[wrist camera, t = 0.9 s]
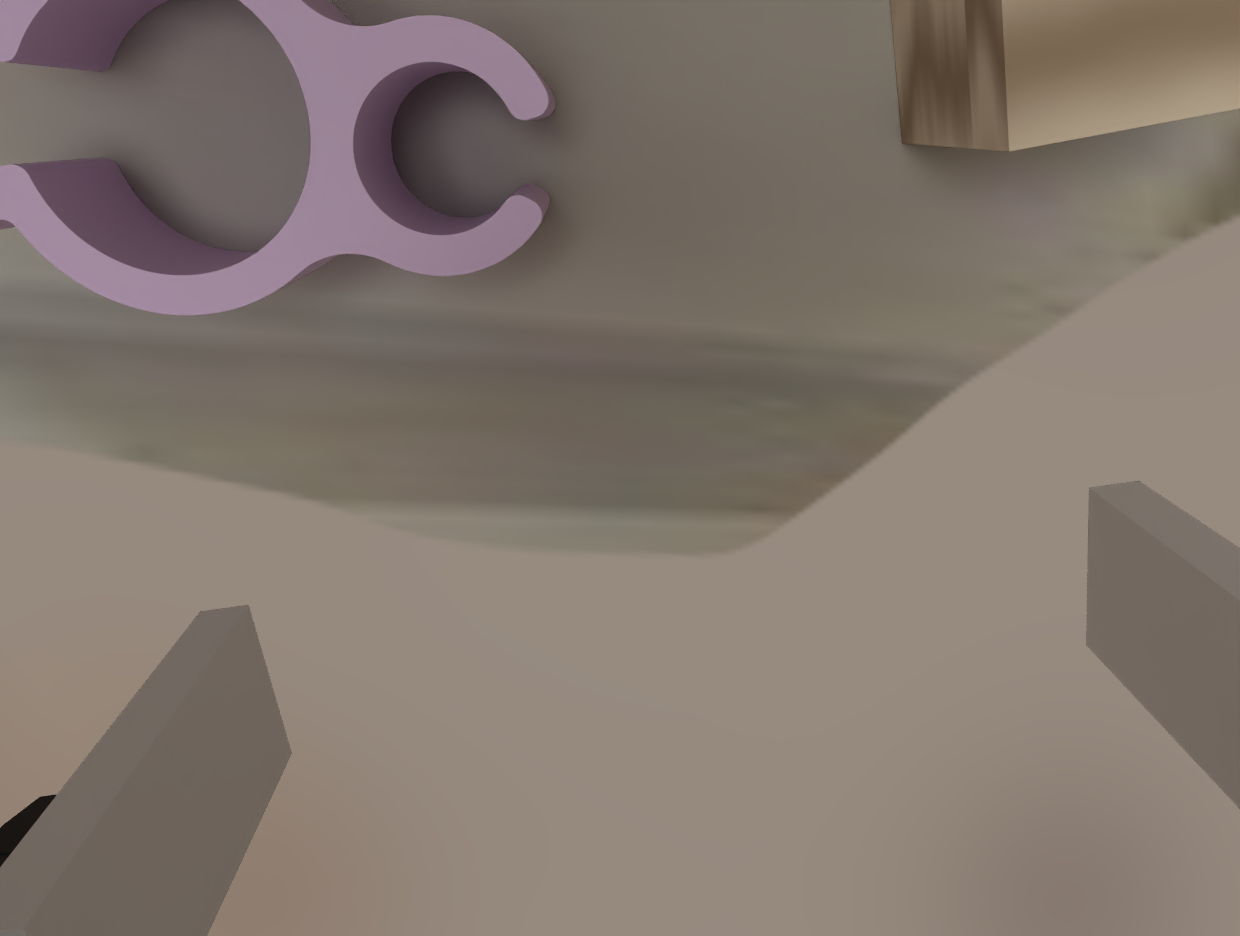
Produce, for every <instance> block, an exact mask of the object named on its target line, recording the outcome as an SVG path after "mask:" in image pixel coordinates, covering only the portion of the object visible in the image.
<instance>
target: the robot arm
mask: <svg viewBox="0 0 1240 936" xmlns="http://www.w3.org/2000/svg"><path fill="white" fill-rule="evenodd" d="M1088 521H1089V522H1088V575H1087V576H1088V577H1087V631H1086V645H1087V646H1088V647H1089V648H1090V649H1091V651H1092V652H1093V653H1094V654H1095V655H1096V656H1097V657H1098V658H1099V659H1100V660H1101V661H1102V662H1103V663H1104V664H1105V665H1106V667H1107V668H1108V669H1109V670H1110V671H1111V672H1112V673H1113V674H1114V675H1115V676H1116V677H1117V678H1118V679H1119V680H1120V681H1121V683H1122V684H1123V685H1124V686H1125V687H1126V688H1127V689H1128V690H1129V691H1130V692H1131V693H1132V694H1133V695H1134V696H1135V698H1136V699H1137V700H1138V701H1139V702H1140V703H1141V704H1142V705H1143V706H1144V707H1145V708H1146V709H1147V710H1148V711H1149V713H1151V715H1152V716H1153V717H1154V718H1155V719H1156V720H1157V721H1158V722H1159V723H1160V724H1161V725H1162V726H1163V727H1164V728H1165V730H1166V731H1167V732H1168V733H1169V734H1170V735H1171V736H1172V737H1173V738H1174V739H1175V740H1176V741H1177V742H1178V743H1179V745H1180V746H1181V747H1182V748H1183V749H1184V750H1185V751H1186V752H1187V753H1188V754H1189V755H1190V756H1191V757H1192V758H1193V760H1194V761H1196V763H1197V764H1198V765H1200V767H1201V768H1202V769H1203V770H1204V771H1205V772H1206V773H1207V774H1208V775H1209V777H1210V778H1211V779H1212V780H1213V781H1214V782H1215V783H1216V784H1217V785H1218V786H1219V787H1220V788H1221V789H1222V790H1223V791H1224V793H1225V794H1226V795H1227V796H1228V797H1229V798H1230V799H1231V800H1232V801H1233V802H1234V803H1235V804H1236V805H1237V806H1238V808H1239V809H1240V548H1239V547H1237V546H1236V545H1234V544H1233V543H1231V542H1230V541H1228V540H1227V539H1225V538H1224V537H1222V536H1221V535H1219V534H1218V533H1216V532H1215V531H1213V530H1212V529H1210V528H1209V527H1207V526H1206V525H1204V524H1203V523H1201V522H1200V521H1198V520H1197V519H1195V518H1194V517H1192V516H1191V515H1189V514H1188V513H1186V512H1185V511H1183V510H1182V509H1180V508H1179V507H1177V506H1176V505H1174V504H1173V503H1171V502H1170V501H1168V500H1167V499H1165V498H1164V497H1162V496H1161V495H1159V494H1158V493H1156V492H1155V491H1153V490H1152V489H1150V488H1149V487H1147V486H1146V485H1144V484H1143V483H1141V482H1140V481H1134V482H1127V483H1120V484H1113V485H1105V486H1099V487H1091V488H1089V520H1088ZM291 754H292V752H291V749H290V745H289V742H288V738H287V735H286V731H285V728H284V725H283V721H282V718H281V715H280V711H279V707H278V704H277V701H276V697H275V694H274V690H273V687H272V683H271V680H270V677H269V673H268V670H267V666H266V663H265V660H264V656H263V653H262V649H261V646H260V643H259V639H258V636H257V632H256V629H255V626H254V622H253V619H252V615H251V612H250V608H249V605H243V606H236V607H229V608H222V609H216V610H215V609H214V610H207V611H201V612H199V614H198V615H197V616H196V618H195V619H194V620H193V621H192V623H191V624H190V625H189V627H188V628H187V629H186V630H185V632H184V633H183V634H182V635H181V637H180V638H179V639H178V641H177V642H176V643H175V645H174V646H173V647H172V648H171V650H170V651H169V652H168V653H167V655H166V656H165V657H164V659H163V660H162V661H161V662H160V664H159V665H158V666H157V668H156V669H155V670H154V671H153V673H152V674H151V675H150V676H149V678H148V679H147V680H146V682H145V683H144V684H143V685H142V687H141V688H140V689H139V690H138V692H137V693H136V694H135V696H134V697H133V698H132V699H131V701H130V702H129V703H128V705H127V706H126V707H125V709H124V710H123V711H122V712H121V714H120V715H119V716H118V717H117V719H116V720H115V721H114V722H113V724H112V725H111V726H110V728H109V729H108V730H107V731H106V733H105V734H104V735H103V737H102V738H101V739H100V740H99V742H98V743H97V744H96V745H95V747H94V748H93V749H92V751H91V752H90V753H89V754H88V756H87V757H86V758H85V760H84V761H83V762H82V763H81V765H80V766H79V767H78V769H77V770H76V771H75V772H74V774H73V775H72V776H71V777H70V779H69V780H68V781H67V783H66V784H65V785H64V786H63V788H62V789H61V791H60V792H59V793H58V794H57V795H50V796H42V797H39V798H38V799H37V800H35V801H34V802H33V803H31V804H30V805H29V806H27V807H26V808H25V809H24V810H22V811H21V812H20V813H18V814H17V815H16V816H14V817H13V818H12V819H10V820H9V821H8V822H6V823H5V824H4V825H3V826H2V827H1V828H0V936H207V935H208V932H209V930H210V928H211V926H212V924H213V922H214V920H215V917H216V915H217V913H218V911H219V909H220V906H221V904H222V902H223V900H224V898H225V896H226V894H227V892H228V889H229V887H230V885H231V883H232V881H233V879H234V876H235V874H236V872H237V870H238V868H239V866H240V864H241V862H242V859H243V857H244V855H245V853H246V851H247V849H248V846H249V844H250V842H251V840H252V838H253V836H254V834H255V831H256V829H257V827H258V825H259V823H260V821H261V819H262V816H263V814H264V812H265V810H266V808H267V806H268V803H269V801H270V799H271V797H272V795H273V793H274V791H275V788H276V786H277V784H278V782H279V780H280V777H281V776H282V773H283V771H284V769H285V767H286V765H287V763H288V760H289V758H290V756H291Z"/></svg>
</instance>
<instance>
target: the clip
mask: <svg viewBox="0 0 1240 936" xmlns="http://www.w3.org/2000/svg"><path fill="white" fill-rule="evenodd" d="M166 1H168V0H0V62H10V63H20V64H30V65H40V66H49V67H59V68H69V69H79V70H89V71H99V72H101V71H105V70H107V69H108V68H109V67H110V65H111V63H112V60H113V58H114V55H115V53H116V51H117V49H118V47H119V45H120V44H121V42H122V40H123V39H124V37H125V36H126V34H127V33H128V32H129V31H130V29H131V28H132V27H133V26H134V25H135V24H136V23H137V22H138V21H139V20H140V19H141V18H142V17H143V16H144V15H145V14H147V13H148V12H149V11H151V10H152V9H154V8H155V7H157V6H158V5H160V4H162V3H164V2H166ZM239 1H240V2H242V3H243V4H244V5H245V6H246V7H248V8H249V9H250V10H251V11H252V12H253V13H254V14H255V15H256V16H257V17H258V18H259V19H260V20H261V21H262V22H263V23H264V24H265V26H266V27H267V28H268V29H269V30H270V32H271V33H272V34H273V35H274V37H275V38H276V39H277V41H278V42H279V44H280V45H281V47H282V48H283V50H284V52H285V53H286V55H287V57H288V58H289V60H290V62H291V64H292V66H293V68H294V70H295V72H296V75H297V77H298V80H299V82H300V85H301V88H302V91H303V94H304V97H305V101H306V106H307V110H308V116H309V122H310V133H311V150H310V162H309V169H308V173H307V178H306V182H305V185H304V188H303V191H302V194H301V196H300V199H299V201H298V203H297V205H296V207H295V209H294V211H293V213H292V215H291V216H290V218H289V219H288V221H287V222H286V224H285V225H284V226H283V228H282V229H281V230H280V232H279V233H278V234H277V235H276V236H275V237H274V238H273V239H272V240H271V241H270V242H269V243H268V244H267V245H266V246H264V247H263V248H262V249H261V250H259V251H249V252H246V251H229V250H224V249H218V248H214V247H211V246H207V245H204V244H201V243H199V242H197V241H194V240H192V239H190V238H188V237H186V236H184V235H182V234H180V233H179V232H177V231H175V230H174V229H172V228H171V227H169V226H168V225H166V224H165V223H164V222H162V221H161V220H160V219H159V218H157V217H156V216H155V215H154V214H153V213H152V212H151V211H150V210H149V209H148V208H147V207H146V206H145V205H144V204H143V203H142V202H141V200H140V199H139V198H138V197H137V196H136V194H135V193H134V191H133V190H132V189H131V187H130V186H129V184H128V183H127V181H126V179H125V178H124V176H123V174H122V172H121V170H120V168H119V167H118V165H117V164H116V163H115V162H114V161H113V160H111V159H109V158H91V159H77V160H64V161H50V162H37V163H23V164H10V165H5V166H1V167H0V229H6V228H11V227H16V228H17V229H18V230H19V231H20V232H21V234H22V235H23V236H24V237H25V238H26V239H27V240H28V242H29V243H30V244H31V245H32V246H33V247H34V248H35V249H36V250H37V251H38V252H39V253H40V254H41V255H42V256H43V257H45V258H46V259H47V260H48V261H49V262H50V263H52V264H53V265H54V266H55V267H56V268H58V269H59V270H60V271H62V272H63V273H64V274H66V275H67V276H69V277H70V278H72V279H73V280H75V281H76V282H78V283H79V284H81V285H83V286H84V287H86V288H88V289H90V290H91V291H93V292H95V293H97V294H99V295H101V296H104V297H106V298H108V299H111V300H113V301H115V302H118V303H121V304H124V305H127V306H130V307H133V308H137V309H141V310H145V311H150V312H155V313H161V314H170V315H204V314H213V313H219V312H224V311H228V310H232V309H236V308H239V307H242V306H245V305H248V304H250V303H253V302H255V301H257V300H260V299H262V298H264V297H266V296H267V295H269V294H271V293H273V292H275V291H277V290H279V289H281V288H282V287H284V286H286V285H288V284H290V283H292V282H294V281H295V280H297V279H299V278H301V277H303V276H305V275H307V274H309V273H310V272H312V271H314V270H316V269H318V268H320V267H321V266H323V265H325V264H326V263H328V262H329V261H331V260H332V259H333V258H335V257H336V256H337V255H339V254H360V255H366V256H371V257H374V258H377V259H380V260H382V261H385V262H387V263H389V264H391V265H394V266H396V267H398V268H401V269H404V270H407V271H410V272H414V273H419V274H424V275H432V276H455V275H462V274H468V273H472V272H476V271H479V270H482V269H485V268H487V267H489V266H492V265H494V264H496V263H498V262H500V261H501V260H503V259H505V258H506V257H508V256H509V255H511V254H512V253H513V252H515V251H516V250H517V249H518V248H520V247H521V246H522V245H523V244H524V243H525V242H526V241H527V240H528V239H529V238H530V237H531V235H532V234H533V233H534V232H535V230H536V229H537V228H538V226H539V225H540V223H541V221H542V219H543V217H544V215H545V213H546V211H547V209H548V207H549V204H550V200H549V196H548V194H547V192H546V191H545V190H543V189H542V188H540V187H538V186H536V185H534V184H525V185H523V186H521V187H520V188H519V189H518V190H517V191H516V192H515V193H514V194H512V195H511V196H510V197H509V198H508V199H507V200H506V201H505V203H504V204H503V205H502V206H501V207H500V208H498V209H496V210H494V211H492V212H490V213H487V214H485V215H481V216H477V217H469V218H461V217H452V216H448V215H444V214H441V213H439V212H436V211H434V210H432V209H430V208H428V207H427V206H425V205H424V204H422V203H421V202H420V201H419V200H418V199H416V198H415V197H414V196H413V195H412V194H411V192H410V191H409V190H408V189H407V188H406V186H405V185H404V183H403V182H402V180H401V178H400V176H399V174H398V172H397V169H396V167H395V164H394V160H393V156H392V149H391V133H392V126H393V122H394V118H395V115H396V113H397V111H398V108H399V106H400V105H401V103H402V101H403V100H404V99H405V97H406V96H407V95H408V93H409V92H410V91H411V90H412V89H413V88H415V87H416V86H417V85H418V84H420V83H421V82H423V81H424V80H426V79H428V78H430V77H432V76H435V75H437V74H441V73H445V72H453V71H461V72H470V73H474V74H476V75H477V76H479V77H480V78H482V79H483V80H484V81H486V82H487V83H488V84H489V85H490V86H491V87H492V88H493V89H494V90H495V91H496V92H497V93H498V94H499V96H500V97H501V99H502V100H503V101H504V103H505V104H506V106H507V108H508V110H509V111H510V113H511V114H512V115H513V116H514V117H516V118H517V119H520V120H540V119H543V118H545V117H548V116H549V115H551V114H552V112H553V111H554V109H555V98H554V96H553V94H552V92H551V90H550V88H549V87H548V85H547V84H546V82H545V81H544V79H543V78H542V77H541V75H540V74H539V73H538V72H537V70H536V69H535V68H534V67H533V66H532V65H531V64H530V63H529V62H528V61H527V60H526V59H525V58H523V57H522V56H521V55H520V54H519V53H518V52H517V51H516V50H515V49H514V48H513V47H512V46H510V45H509V44H508V43H507V42H505V41H504V40H503V39H501V38H500V37H498V36H497V35H495V34H494V33H492V32H490V31H488V30H486V29H484V28H482V27H480V26H478V25H476V24H473V23H470V22H467V21H464V20H461V19H457V18H452V17H446V16H436V15H420V16H411V17H406V18H401V19H397V20H394V21H391V22H387V23H384V24H380V25H374V26H355V25H354V24H353V23H352V22H351V21H349V20H348V19H347V17H346V16H345V15H344V14H343V13H342V12H341V11H340V10H339V9H338V8H337V7H336V6H335V5H334V4H333V3H332V2H331V1H330V0H239Z"/></svg>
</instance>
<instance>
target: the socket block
mask: <svg viewBox="0 0 1240 936" xmlns="http://www.w3.org/2000/svg"><path fill="white" fill-rule="evenodd" d="M890 5H891V17H892V29H893V41H894V53H895V65H896V77H897V89H898V101H899V113H900V125H901V137H902V143H905V144H918V145H931V146H944V147H957V148H970V149H983V150H996V151H1015V150H1020V149H1026V148H1031V147H1036V146H1042V145H1047V144H1052V143H1058V142H1063V141H1068V140H1074V139H1079V138H1084V137H1090V136H1095V135H1100V134H1106V133H1111V132H1116V131H1122V130H1127V129H1133V128H1138V127H1143V126H1149V125H1154V124H1159V123H1165V122H1170V121H1175V120H1181V119H1186V118H1191V117H1197V116H1202V115H1207V114H1213V113H1218V112H1223V111H1229V110H1234V109H1240V0H890Z"/></svg>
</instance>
